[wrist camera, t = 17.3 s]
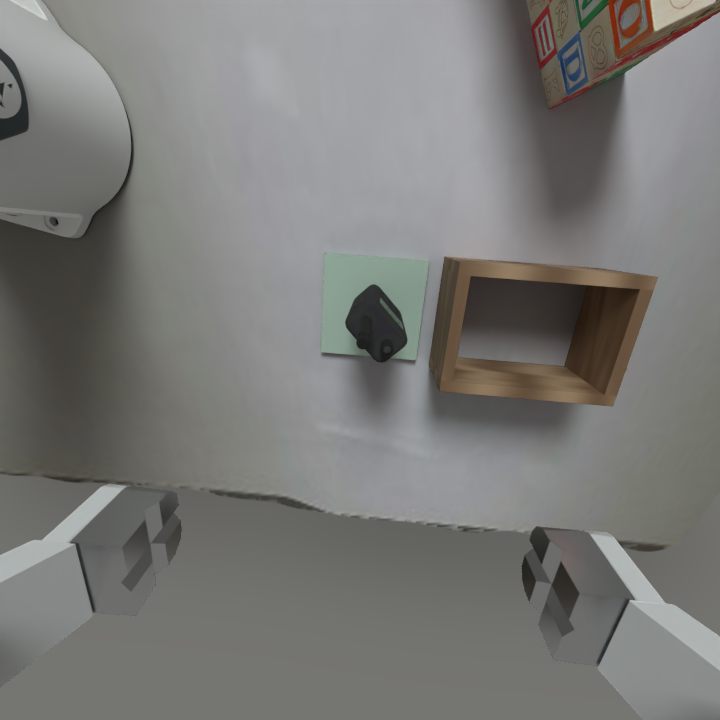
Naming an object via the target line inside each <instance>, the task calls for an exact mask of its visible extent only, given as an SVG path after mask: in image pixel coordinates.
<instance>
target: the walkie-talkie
mask: <svg viewBox="0 0 720 720" xmlns="http://www.w3.org/2000/svg"><path fill="white" fill-rule="evenodd" d="M345 325H346V328H347V329H348V331H349V332H350V333H351V334H352V335H353V336H354V337H355V339H356V340H357V341H356V345H357V347H358V348H359V349H365V350H366V351H367V352H368V353H369V354H370V355H371V356H372V358H373V359H374V360H376V361H377V362H385V361H387V360H388V359H389V358H391V357H392V356H393V355H395V354H396V353H397V352H398V351H400V350H401V349H402V348H404V347H405V345H406V344H407V341H408V340H407V335H406V331H405V327H404V323H403V319H402V316H401V313H400V311H399V310H398V308H397V307H396V306H395V305H394V304H393V302H392V301H391V300H390V299H389V298H388V297H387V295H386V294H385V293H384V292H383V291H382V289H381V288H380V287H379V286H378V285H375V284H373V285H370V286H368V287H367V288H366V289H365V290H364V291H363V292H362V293H360V294H359V295H358V296H357V297H356V298H355V299H354V301H353V303H352V306H351V308H350V311H349V313H348V316H347V318H346V321H345Z"/></svg>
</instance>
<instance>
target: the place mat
mask: <svg viewBox="0 0 720 720" xmlns="http://www.w3.org/2000/svg"><path fill="white" fill-rule="evenodd" d="M428 266H429V261H423V260H411V259H398V258H385V257H372V256H359V255H346V254H333V253H324V280H323V307H322V335H321V352H325V353H337V354H349V355H361V356H371V355H370V354H369V353H368V352H367V351H366V350H365V349H359V348H358V347H357V345H356V341H357V340H356V339H355V337H354V336H353V335H352V334H351V333H350V332H349V331H348V329H347V328H346V325H345V321H346V318H347V316H348V313H349V311H350V308H351V306H352V303H353V301H354V299H355V298H356V297H357V296H358V295H359V294H360V293H362V292H363V291H364V290H365V289H366V288H367V287H368V286H370V285H373V284H375V285H378V286H379V287H380V288H381V289H382V291H383V292H384V293H385V294H386V295H387V297H388V298H389V299H390V300H391V301H392V302H393V304H394V305H395V306H396V307H397V308H398V310H399V311H400V313H401V316H402V319H403V323H404V327H405V331H406V335H407V340H408V341H407V344H406V345H405V347H404V348H402V349H401V350H400V351H398V352H397V353H396V354H395V355H393V356H392V357H391V358H396V359H408V360H416V356H417V349H418V341H419V333H420V326H421V318H422V311H423V303H424V296H425V288H426V281H427V273H428Z"/></svg>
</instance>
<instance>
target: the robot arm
mask: <svg viewBox="0 0 720 720" xmlns="http://www.w3.org/2000/svg"><path fill="white" fill-rule="evenodd" d="M130 156H131V137H130V129H129V123H128V119H127V115H126V112H125V109H124V106H123V103H122V101H121V98H120V96H119V94H118V92H117V90H116V88H115V86H114V84H113V83H112V81H111V79H110V78H109V76H108V75H107V73H106V72H105V71H104V69H103V68H102V67H101V66H100V64H99V63H98V62H97V61H96V60H95V59H94V58H93V57H92V56H91V55H90V54H89V53H88V52H87V51H86V50H85V49H84V48H82V47H81V46H80V45H79V44H77V43H76V42H75V41H74V40H72V39H71V38H70V37H69V36H68V35H67V34H65V33H64V32H63V30H62V29H61V28H60V27H59V25H58V23H57V22H56V20H55V19H54V17H53V16H52V14H51V13H50V11H49V10H48V8H47V7H46V6H45V4H44V3H43V2H42V1H41V0H0V219H2V220H5V221H9V222H12V223H16V224H20V225H23V226H27V227H30V228H34V229H37V230H41V231H45V232H48V233H52V234H55V235H59V236H62V237H67V238H80V237H81V236H82V235H83V234H84V233H85V231H86V229H87V228H88V225H89V223H90V221H91V218H92V216H93V215H94V213H95V212H96V211H97V210H99V209H100V208H101V207H103V206H104V205H105V204H107V203H108V202H109V201H110V200H111V199H112V198H113V197H114V196H115V195H116V194H117V192H118V191H119V189H120V188H121V186H122V184H123V182H124V180H125V177H126V175H127V172H128V168H129V163H130ZM56 219H57V220H58V224H57V223H56ZM178 506H179V503H178V497H177V493H175V492H173V491H168V490H160V489H151V488H143V487H136V486H123V485H115V484H107V485H104V486H102V487H100V488H99V489H98V490H97V491H96V492H95V493H94V494H92V496H90V497H89V498H88V499H87V500H86V501H85V502H84V503H82V504H81V505H80V506H79V507H78V508H77V509H76V510H75V511H74V512H72V513H71V514H70V515H69V516H68V517H67V518H66V519H65V520H63V521H62V522H61V523H60V524H59V525H58V526H57V527H56V528H55V529H53V530H52V531H51V532H50V533H49V534H48V535H47V536H46V537H45V538H44V539H43V540H32V541H30V542H28V543H26V544H23V545H21V546H19V547H17V548H15V549H13V550H10V551H8V552H6V553H4V554H1V555H0V687H1V686H2V685H4V684H5V683H6V682H8V681H9V680H10V679H12V678H13V677H14V676H16V675H17V674H18V673H20V672H21V671H22V670H23V669H25V668H26V667H27V666H29V665H30V664H31V663H33V662H34V661H35V660H36V659H38V658H39V657H40V656H41V655H43V654H44V653H46V652H47V651H48V650H49V649H51V648H52V647H53V646H55V645H56V644H57V643H59V642H60V641H61V640H62V639H64V638H65V637H66V636H68V635H69V634H70V633H72V632H73V631H74V630H75V629H77V628H78V627H79V626H81V625H82V624H83V623H84V622H86V621H87V620H88V619H90V618H91V617H92V616H93V613H102V614H115V615H129V616H136V615H137V614H138V612H139V610H140V609H141V607H142V606H143V604H144V603H145V601H146V600H147V598H148V596H149V595H150V593H151V592H152V590H153V589H154V587H155V586H156V579H155V574H156V573H158V572H160V571H161V570H163V569H164V568H166V567H167V566H168V565H169V564H170V562H171V560H172V559H173V557H174V555H175V554H176V551H177V548H178V545H179V542H180V539H181V531H182V527H181V520H180V519H179V518H178V517H177V516H176V515H175V514H174V511H175V510H176V509H177V507H178ZM530 542H531V544H532V546H533V549H532V550H530V551H529V552H528V553H526V554H525V556H524V560H523V563H522V581H523V585H524V590H525V593H526V595H527V598H528V600H529V603H531V605H532V606H533V607H534V608H536V610H537V611H539V613H541V617H540V620H539V624H538V625H539V627H540V630H541V632H542V635H543V637H544V639H545V641H546V644H547V647H548V649H549V651H550V654H551V656H552V659H553V660H556V661H563V662H571V663H578V664H585V665H592V666H598V670H599V671H600V672H601V673H602V674H603V676H604V677H606V679H607V680H608V681H609V682H610V683H611V684H612V686H613V687H614V688H615V689H616V690H617V691H618V692H619V693H620V694H621V696H622V697H623V698H624V699H625V700H626V701H627V702H628V703H629V705H630V706H631V707H632V708H633V709H634V710H635V711H636V712H637V713H638V715H639V716H640V717H642V719H643V720H720V636H718V635H717V634H715V633H714V632H712V631H711V630H709V629H708V628H707V627H705V626H704V625H702V624H701V623H700V622H698V621H697V620H695V619H694V618H692V617H691V616H689V615H688V614H687V613H685V612H684V611H682V610H681V609H679V608H678V607H677V606H675V605H672V604H666V603H665V602H664V601H663V600H662V598H661V597H660V596H659V594H658V593H657V592H656V590H655V589H654V588H653V587H652V585H651V584H650V583H649V582H648V580H647V579H646V578H645V577H644V575H643V574H642V573H641V571H640V570H639V569H638V568H637V566H636V565H635V564H634V562H633V561H632V560H631V559H630V557H629V556H628V555H627V554H626V552H625V551H624V550H623V548H622V547H621V546H620V545H619V543H618V542H617V541H616V539H615V538H614V537H613V536H611V535H610V534H608V533H607V532H599V531H586V530H582V531H580V530H572V529H560V528H549V527H538V526H536V527H535V528H534V530H533V531H532V533H531V536H530Z"/></svg>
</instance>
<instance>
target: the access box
mask: <svg viewBox="0 0 720 720" xmlns="http://www.w3.org/2000/svg"><path fill="white" fill-rule="evenodd" d="M471 276H478V277H490V278H503V279H516V280H529V281H541V282H554V283H567V284H580V285H588V286H587V289H586V293H585V296H584V300H583V303H582V307H581V310H580V314H579V317H578V321H577V324H576V328H575V331H574V335H573V339H572V342H571V346H570V349H569V353H568V356H567V360H566V363H565V366H553V365H541V364H530V363H518V362H506V361H494V360H482V359H471V358H459V357H457V353H458V348H459V342H460V336H461V330H462V325H463V319H464V313H465V307H466V302H467V296H468V290H469V284H470V278H471ZM657 279H658V277H654V276H648V275H641V274H634V273H627V272H621V271H614V270H607V269H598V268H585V267H572V266H559V265H546V264H533V263H520V262H507V261H494V260H481V259H468V258H455V257H445V258H444V264H443V271H442V278H441V285H440V292H439V299H438V305H437V312H436V319H435V326H434V333H433V340H432V346H431V353H430V360H429V365H430V368H431V371H432V373H433V376H434V379H435V381H436V384H437V387H438V389H439V391H442V392H453V393H464V394H476V395H487V396H499V397H510V398H522V399H533V400H544V401H556V402H567V403H579V404H590V405H602V406H613V405H614V402H615V399H616V396H617V394H618V391H619V388H620V385H621V382H622V379H623V376H624V373H625V371H626V368H627V365H628V362H629V359H630V356H631V353H632V350H633V348H634V345H635V342H636V339H637V336H638V333H639V330H640V328H641V325H642V322H643V319H644V316H645V313H646V310H647V307H648V305H649V302H650V299H651V296H652V293H653V290H654V287H655V285H656V282H657Z"/></svg>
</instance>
